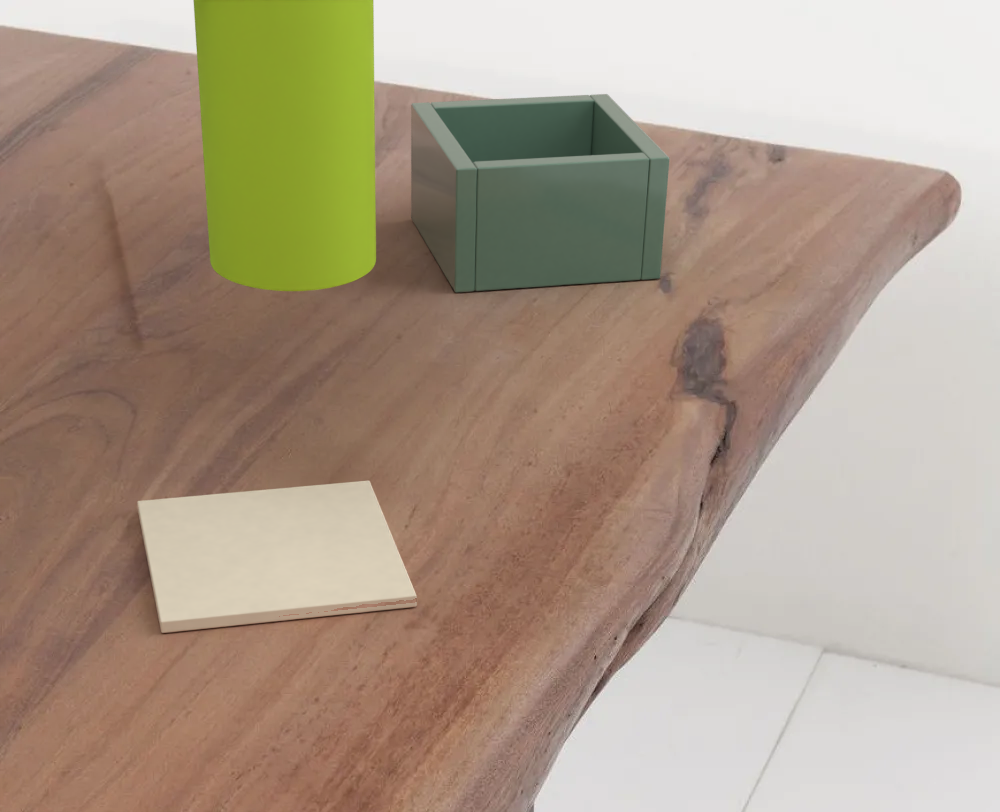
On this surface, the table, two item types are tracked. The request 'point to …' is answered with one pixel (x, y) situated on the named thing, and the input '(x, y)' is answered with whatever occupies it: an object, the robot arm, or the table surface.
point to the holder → (537, 192)
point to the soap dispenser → (288, 140)
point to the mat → (270, 556)
